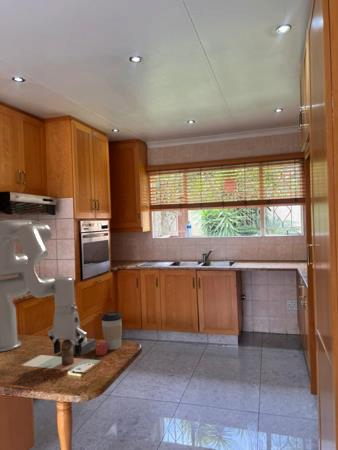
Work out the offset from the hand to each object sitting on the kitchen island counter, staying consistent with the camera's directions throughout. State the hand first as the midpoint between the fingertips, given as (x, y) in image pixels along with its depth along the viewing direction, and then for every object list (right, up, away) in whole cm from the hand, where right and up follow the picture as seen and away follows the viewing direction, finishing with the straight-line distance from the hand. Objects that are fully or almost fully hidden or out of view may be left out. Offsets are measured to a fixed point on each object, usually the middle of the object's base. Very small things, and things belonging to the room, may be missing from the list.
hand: (67, 353), depth 136 cm
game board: (-3, -5, +1) cm, 6 cm away
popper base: (+1, -4, +15) cm, 15 cm away
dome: (+1, -4, +15) cm, 15 cm away
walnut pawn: (0, -4, 0) cm, 4 cm away
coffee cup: (+15, -4, +18) cm, 24 cm away
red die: (+11, -4, +11) cm, 16 cm away
